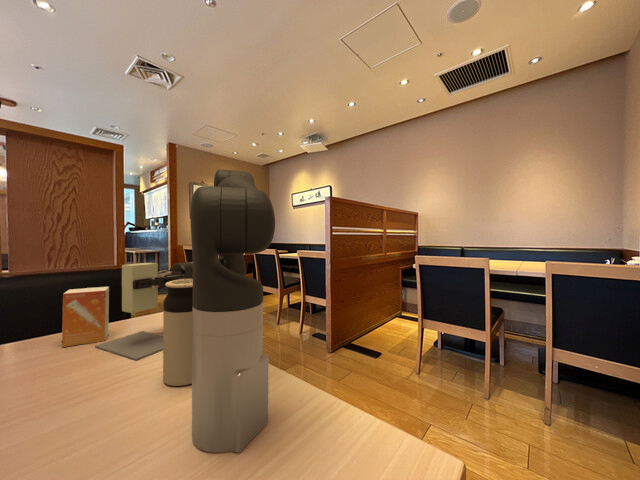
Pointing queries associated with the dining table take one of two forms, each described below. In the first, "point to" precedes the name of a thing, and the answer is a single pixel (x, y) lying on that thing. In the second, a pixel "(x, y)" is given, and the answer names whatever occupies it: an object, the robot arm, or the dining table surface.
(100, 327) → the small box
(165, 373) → the travel mug
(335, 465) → the dining table surface
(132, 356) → the rubber mat
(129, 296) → the tall tan pillar block
